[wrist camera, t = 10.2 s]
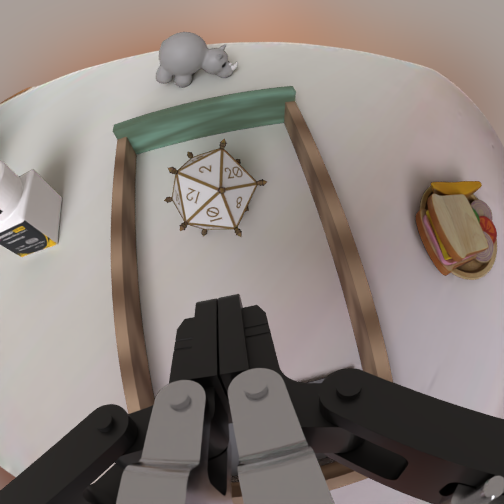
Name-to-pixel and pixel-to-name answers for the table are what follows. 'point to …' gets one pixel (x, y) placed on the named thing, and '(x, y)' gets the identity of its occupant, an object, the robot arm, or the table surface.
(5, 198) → the medicine bottle
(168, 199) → the game die
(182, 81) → the toy rhinoceros
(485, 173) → the table surface
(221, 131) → the walnut track
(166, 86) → the table surface
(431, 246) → the toy sandwich meal
